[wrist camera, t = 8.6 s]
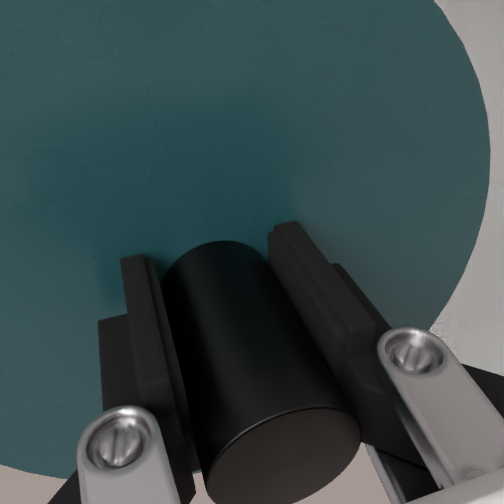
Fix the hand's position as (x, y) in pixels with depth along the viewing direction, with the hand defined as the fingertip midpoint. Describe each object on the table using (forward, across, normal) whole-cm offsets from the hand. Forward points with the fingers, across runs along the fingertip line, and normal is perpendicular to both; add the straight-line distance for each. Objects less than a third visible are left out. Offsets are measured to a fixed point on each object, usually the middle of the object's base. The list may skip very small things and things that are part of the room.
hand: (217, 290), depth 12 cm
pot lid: (+1, 0, 0) cm, 1 cm away
